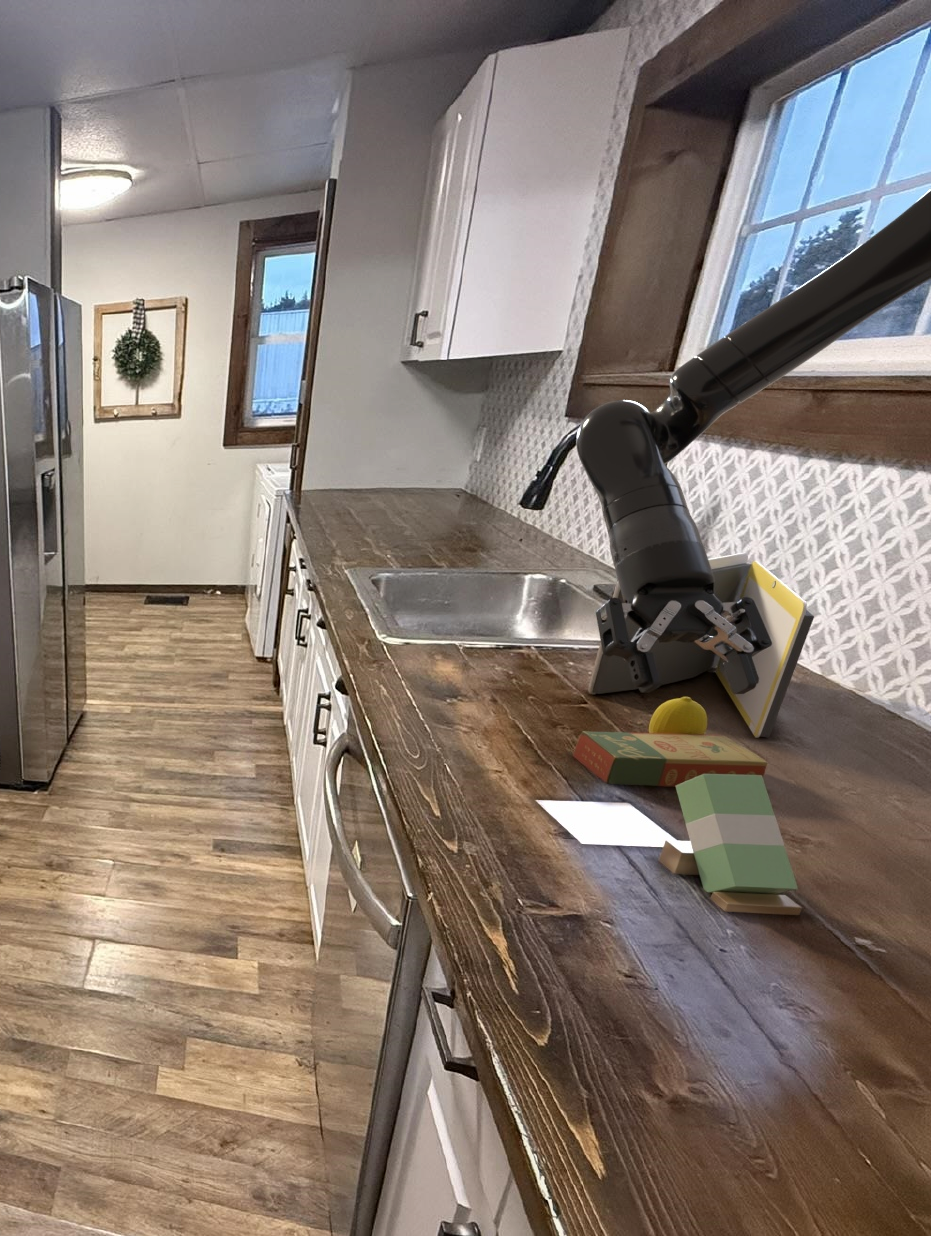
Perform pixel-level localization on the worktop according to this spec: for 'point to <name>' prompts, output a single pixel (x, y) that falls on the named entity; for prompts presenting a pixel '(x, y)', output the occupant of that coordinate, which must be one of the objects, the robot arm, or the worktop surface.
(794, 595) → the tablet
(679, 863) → the wooden bars
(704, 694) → the worktop surface
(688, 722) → the lemon
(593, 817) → the coaster
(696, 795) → the packet
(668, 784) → the carton
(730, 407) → the robot arm
